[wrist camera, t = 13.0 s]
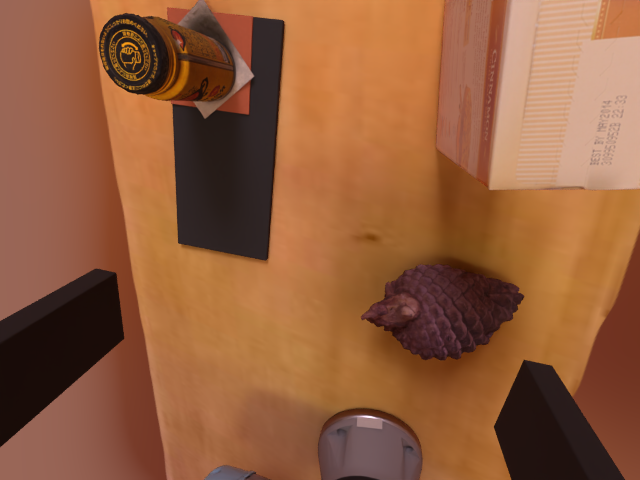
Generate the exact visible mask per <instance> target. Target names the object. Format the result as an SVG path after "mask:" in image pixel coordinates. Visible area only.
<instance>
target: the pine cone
mask: <svg viewBox="0 0 640 480" xmlns="http://www.w3.org/2000/svg"><path fill="white" fill-rule="evenodd" d="M518 291H519V288H518V287H517V286H515V285H513V284H511V283H506V282H502V281H501V280H498V279H492V278H486V277H485V276H484V275H483V274H475V273H469V272H466V271H465V270H460V269H456V268H455V269H453V268H451V267H450V266H449V265H444V266H443V265H440V264H436V265H434V266H432V265H421V264H420V265H418V266H416V268H415V269H411V270H405V271H404V274H403V275H401V276H400V277H399V278H398V279H397V280H396V281H392V282H391V283H389V282H387V283H386V285H385V293H386V294H385V299H384V300H382V301H380V302H377V303H374V304H373V305H372V306H371V307H370V309H369V310H368V311H367V312H366V313H364V314H363V315H362V316H361V319H362V320H364V319H367V320H368V321H369V322H370V323H374V324H375V325H376V326H377V327H381V326H384V331H392V332H393V333H392V335H393V336H394V337H396V339H397V340H398V341H400V343H401V344H402V345H403V348H404V349H408V350H410V351H411V353H412V354H414V355H417V354H419V355H420V356H421V358H422V359H424V360H428V359H431V358H433V357H435V358H437V359H439V360H441V361H442V360H446V358H447V357H448V356H450V357H451V358H453V359H459V358H461V354H462V353H463V352H467V353H470V352H473V351H474V350H475V349H476V345H480V344H482V345H486V344H488V343H489V338H490V337H491V336H492V335H493V333H494V332H495V331H497V330H498V329H499V328H500V325H501V324H502V323H503V322H505V321H510V320H512V319H513V313H514V312H516V311H517V310H518V306H517V305H518V304H520V303H521V301H522V300H523V298H524V295H522V294H521V293H518Z"/></svg>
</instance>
